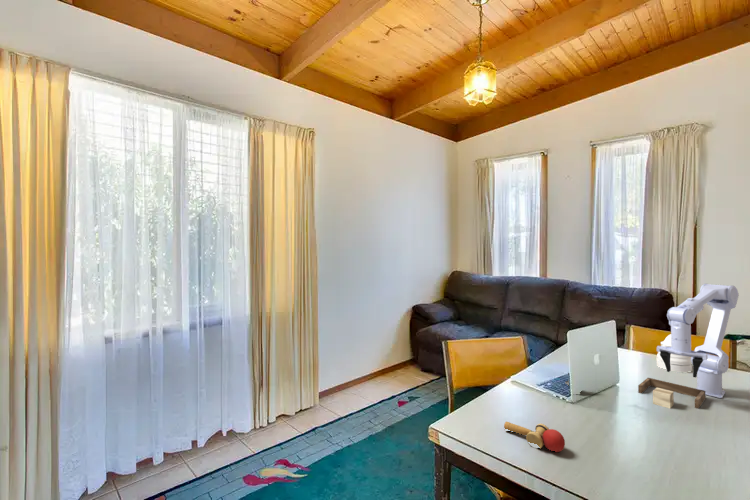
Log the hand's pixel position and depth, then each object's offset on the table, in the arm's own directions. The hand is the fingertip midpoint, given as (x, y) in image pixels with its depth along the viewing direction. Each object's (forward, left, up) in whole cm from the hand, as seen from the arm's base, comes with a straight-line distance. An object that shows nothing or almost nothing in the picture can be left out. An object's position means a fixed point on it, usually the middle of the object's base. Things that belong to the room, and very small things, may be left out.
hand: (681, 373), depth 133 cm
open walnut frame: (-1, -4, -10) cm, 11 cm away
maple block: (+10, -4, -10) cm, 15 cm away
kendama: (+71, -22, -11) cm, 75 cm away
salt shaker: (+24, -30, -10) cm, 39 cm away
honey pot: (-41, -11, -10) cm, 44 cm away
